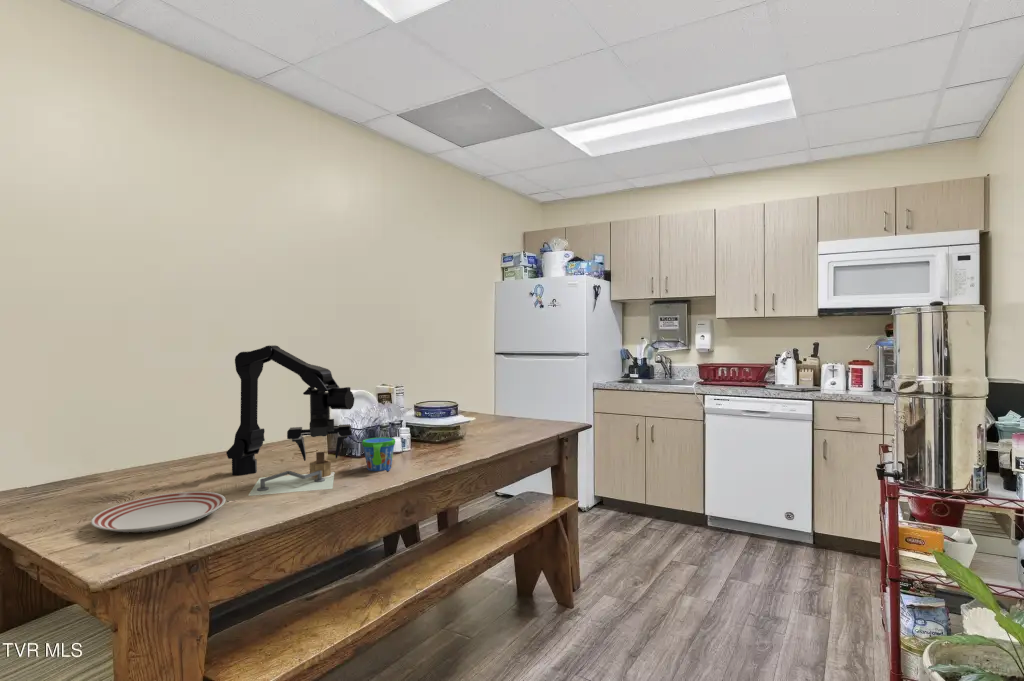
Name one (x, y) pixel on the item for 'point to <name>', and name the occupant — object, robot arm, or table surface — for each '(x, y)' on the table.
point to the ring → (321, 468)
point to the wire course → (291, 483)
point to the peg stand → (321, 460)
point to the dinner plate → (158, 512)
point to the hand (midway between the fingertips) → (320, 459)
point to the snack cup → (379, 453)
